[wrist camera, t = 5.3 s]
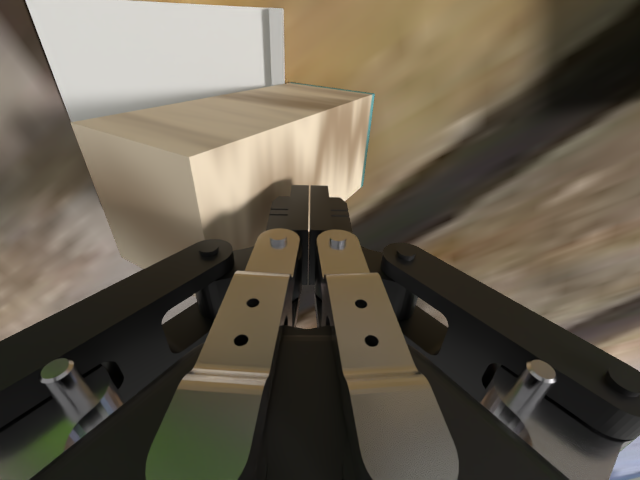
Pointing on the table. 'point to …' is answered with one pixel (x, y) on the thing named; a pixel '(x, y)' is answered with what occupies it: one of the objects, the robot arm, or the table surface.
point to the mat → (155, 52)
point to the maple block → (221, 163)
